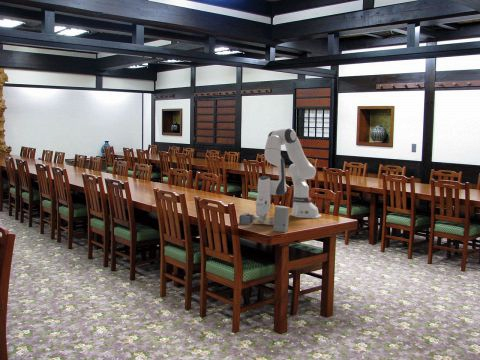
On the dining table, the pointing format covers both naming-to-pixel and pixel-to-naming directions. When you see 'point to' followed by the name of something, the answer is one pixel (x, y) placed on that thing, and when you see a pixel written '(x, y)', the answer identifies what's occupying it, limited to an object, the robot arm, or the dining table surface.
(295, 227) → the dining table surface
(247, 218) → the end cap
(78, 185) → the dining table surface
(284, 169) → the robot arm
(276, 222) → the skincare box
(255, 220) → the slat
